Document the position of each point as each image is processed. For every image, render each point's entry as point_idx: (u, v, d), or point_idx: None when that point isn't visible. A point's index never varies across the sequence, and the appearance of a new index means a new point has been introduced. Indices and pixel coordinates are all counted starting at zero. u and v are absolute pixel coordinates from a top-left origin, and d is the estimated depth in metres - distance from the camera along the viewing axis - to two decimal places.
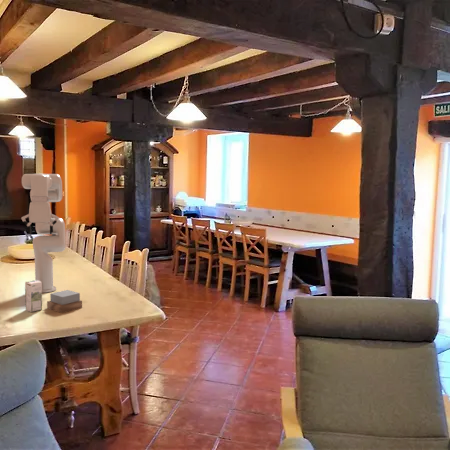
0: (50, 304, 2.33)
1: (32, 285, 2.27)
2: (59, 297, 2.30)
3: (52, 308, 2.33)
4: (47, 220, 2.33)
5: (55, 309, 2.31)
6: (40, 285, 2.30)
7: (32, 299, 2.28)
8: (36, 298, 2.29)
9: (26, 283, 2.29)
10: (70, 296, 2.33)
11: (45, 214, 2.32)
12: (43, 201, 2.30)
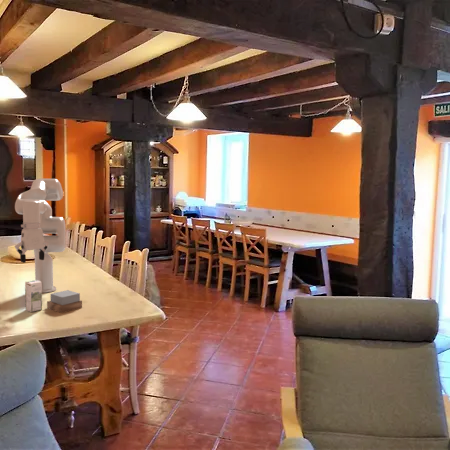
0: (50, 304, 2.34)
1: (32, 285, 2.27)
2: (59, 297, 2.30)
3: (52, 308, 2.33)
4: None
5: (55, 309, 2.31)
6: (40, 285, 2.30)
7: (32, 299, 2.28)
8: (36, 298, 2.29)
9: (26, 283, 2.29)
10: (70, 296, 2.32)
11: None
12: None
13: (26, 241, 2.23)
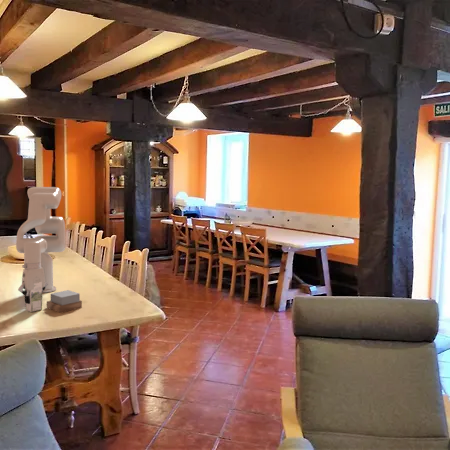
0: (50, 304, 2.34)
1: None
2: (58, 297, 2.30)
3: (52, 308, 2.33)
4: None
5: (55, 309, 2.31)
6: (40, 285, 2.30)
7: (32, 299, 2.28)
8: (36, 298, 2.29)
9: None
10: (69, 296, 2.32)
11: None
12: None
13: (27, 281, 2.25)
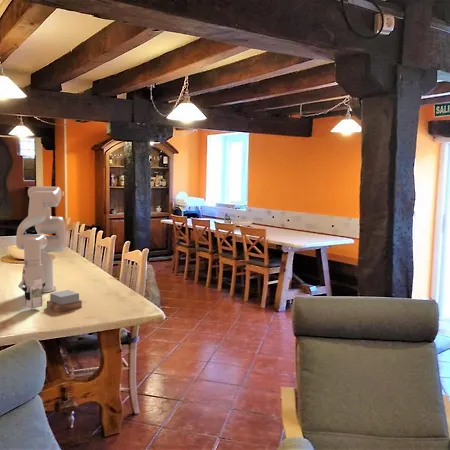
0: (49, 304, 2.34)
1: None
2: (58, 297, 2.30)
3: (52, 308, 2.33)
4: None
5: (55, 309, 2.31)
6: (40, 282, 2.30)
7: (32, 296, 2.28)
8: (36, 294, 2.30)
9: None
10: (69, 296, 2.32)
11: None
12: None
13: (27, 278, 2.25)
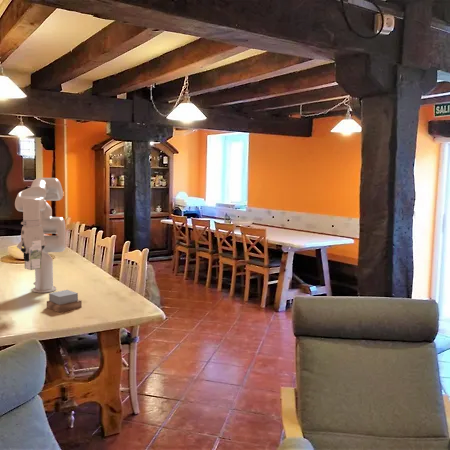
0: (49, 304, 2.34)
1: None
2: (56, 297, 2.31)
3: (51, 308, 2.33)
4: None
5: (54, 309, 2.31)
6: (39, 243, 2.28)
7: (31, 257, 2.25)
8: (35, 256, 2.27)
9: None
10: (68, 296, 2.32)
11: None
12: None
13: (26, 238, 2.23)
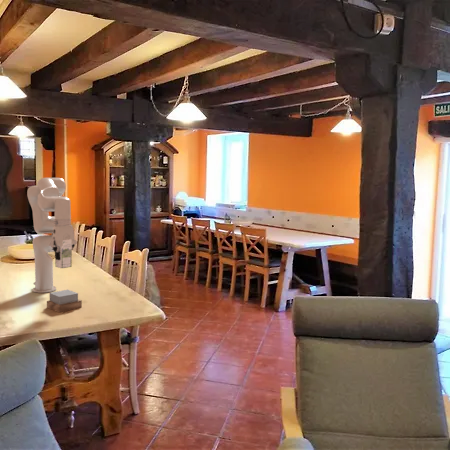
0: (49, 304, 2.34)
1: None
2: (57, 297, 2.31)
3: (52, 308, 2.33)
4: None
5: (55, 309, 2.32)
6: (70, 242, 2.33)
7: (62, 255, 2.30)
8: (66, 254, 2.32)
9: None
10: (68, 296, 2.32)
11: None
12: None
13: (58, 237, 2.27)
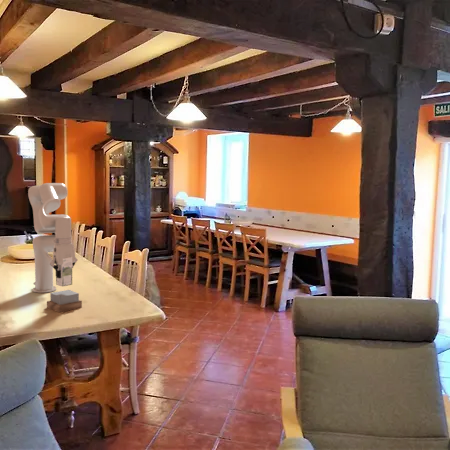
0: (50, 304, 2.34)
1: (63, 260, 2.30)
2: (57, 297, 2.31)
3: (52, 308, 2.33)
4: None
5: (55, 309, 2.32)
6: (71, 260, 2.34)
7: (63, 274, 2.31)
8: (67, 272, 2.33)
9: None
10: (68, 296, 2.33)
11: None
12: None
13: (59, 256, 2.29)
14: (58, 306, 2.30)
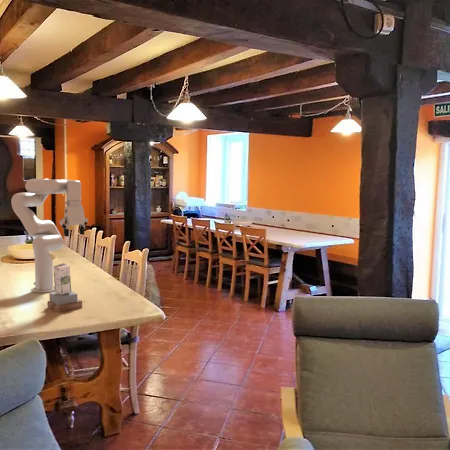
0: (50, 304, 2.34)
1: (61, 270, 2.29)
2: (55, 297, 2.31)
3: (52, 308, 2.33)
4: None
5: (55, 309, 2.32)
6: (68, 269, 2.32)
7: (61, 283, 2.31)
8: (65, 281, 2.32)
9: (54, 267, 2.31)
10: (67, 296, 2.32)
11: None
12: None
13: (69, 217, 2.46)
14: (58, 306, 2.30)
